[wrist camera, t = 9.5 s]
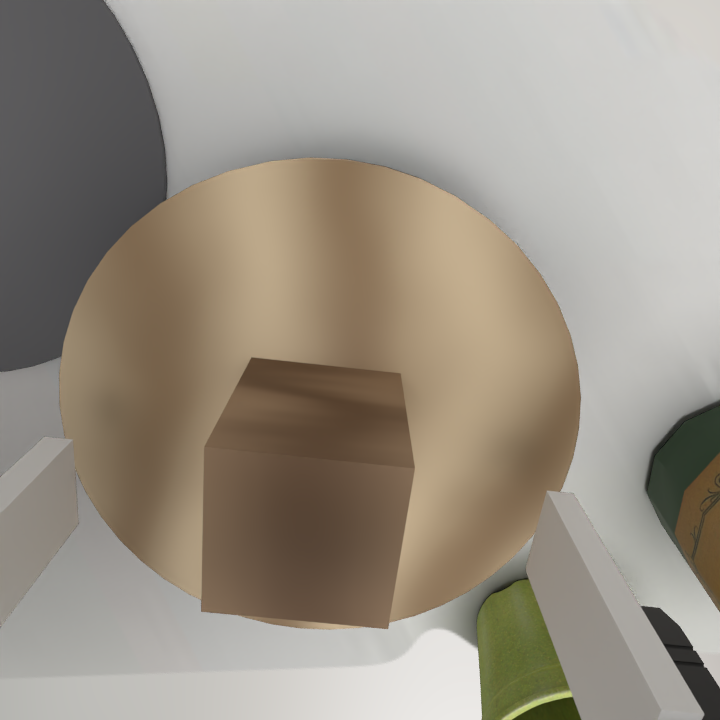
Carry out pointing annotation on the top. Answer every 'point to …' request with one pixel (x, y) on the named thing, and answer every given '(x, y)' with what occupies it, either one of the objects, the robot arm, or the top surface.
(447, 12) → the top surface
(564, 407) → the lid
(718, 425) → the bottle
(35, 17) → the mat
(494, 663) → the plant pot
